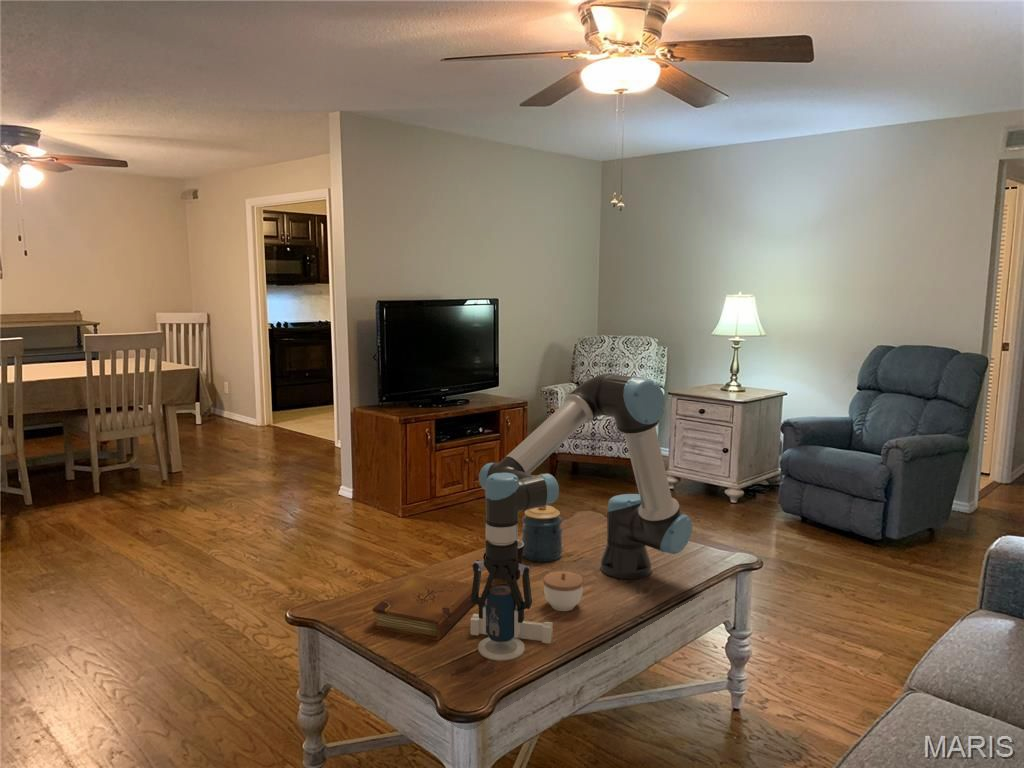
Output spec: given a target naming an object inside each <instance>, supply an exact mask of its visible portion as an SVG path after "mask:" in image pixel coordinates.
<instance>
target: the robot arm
mask: <svg viewBox="0 0 1024 768" xmlns="http://www.w3.org/2000/svg"><path fill="white" fill-rule="evenodd" d="M665 405H666V401H665V394H664V392H663V390H662V388H661V387H660V386H659V384H658V383H657V382H656V381H653V380H652V379H648V378H645V377H642V376H631V375H630V376H628V375H623V374H617V373H601V374H599V375H596V376H594V377H591V378H590V379H587V380H586V381H584V382H583V383H582V384H581V383H580V385H578V386H576V388H574V389H573V390H572V391H571V392H570V393H569V394H567V396H566V397H565V399H564V403H563V404H562V405H560V407H559V408H558V409H556V411H554V412H553V413H552V414H551V415H550V416H549V417H548V418H546V419H545V420H544V421H543V422H542V423H541V424H540V425H539V426H538V427H536V428H535V430H533V431H532V432H531V433H530V434H529V435H528V436H526V438H525V439H524V440H522V441H521V442H520V443H519V444H518V445H517V446H516V447H515V448H514V449H513V450H512V451H510V452H509V453H508V454H507V455H506V456H505V457H503V459H501V461H499V462H498V463H497V462H488V463H486V464H485V465H483V466H482V467H481V469H480V471H479V474H478V482H479V485H480V487H481V489H483V490H484V491H485V492H484V497H485V539H486V541H485V552H486V556H485V560H484V559H483V560H479V559H476V560H475V561H474V562H473V564H472V570H473V578H472V579H473V580H472V584H473V587H472V595H471V602H472V603H475V605H478V615H479V618H480V619H483V634H482V635H485V634H486V633H487V595H488V592H489V589H490V588H491V586H493V584H494V580H502V579H503V580H502V581H506V580H507V581H506V582H507V585H509V586H510V589H511V592H512V595H513V597H514V600H515V603H516V609H515V611H514V637H518V635H519V633H520V623H522V622H523V621H524V619H525V610H529V609H531V606H532V603H533V597H532V588H531V580H530V572H531V567H532V566H531V565H530V564H526V565H525V564H520V562H519V560H518V541H517V540H518V538H519V513H521V512H525V511H526V510H529V509H533V508H538V507H544V506H546V505H548V506H549V505H551V504H554V503H555V502H556V501H557V500H558V499H559V494H560V491H559V490H560V488H559V483H558V481H557V480H556V478H555V476H553V475H552V474H551V473H538V474H537V475H536V474H535V475H534V474H531V473H533V472H534V471H535V470H536V469H537V468H538V467H539V466H540V465H541V464H542V463H543V462H544V461H546V459H547V458H549V456H551V455H552V454H553V453H554V452H555V451H556V450H558V448H559V447H560V446H561V445H562V444H563V443H565V442H566V441H567V440H568V439H569V438H570V437H571V436H572V435H574V433H575V432H576V431H577V430H578V429H579V428H580V427H581V426H582V425H583V424H590V423H591V422H592V421H593V420H594V419H595V418H597V417H601V416H602V417H603V416H607V417H611V418H613V419H614V421H615V426H616V429H617V431H618V432H619V433H620V434H622V435H624V438H625V442H626V445H627V446H626V447H627V451H628V454H629V458H630V462H631V467H632V471H633V474H634V478H635V479H634V480H635V483H636V487H637V490H638V493H626V494H625V493H624V494H619V495H618V494H617V495H614V496H612V497H611V498H609V500H608V503H607V511H606V512H607V521H606V523H607V529H606V530H607V531H606V534H607V535H606V537H607V538H606V546H605V549H604V551H603V554H602V557H601V560H600V570H601V571H602V573H603V574H605V575H606V576H607V575H608V576H609V577H613V578H616V579H621V580H638V579H643V578H646V577H648V576H649V575H650V574H651V571H652V562H651V560H650V557H649V553H648V550H647V547H649V548H652V549H655V550H658V551H660V552H662V553H667V554H670V555H675V554H678V553H680V552H681V551H683V550H684V549H685V548H686V546H687V545H688V543H689V542H690V539H691V536H692V533H693V522H692V519H691V517H689V516H688V515H687V514H683V513H682V512H681V508H680V504H679V501H678V500H677V499H675V498H674V497H672V493H671V488H670V485H669V480H668V476H667V472H666V467H665V462H664V459H663V454H662V449H661V445H660V440H659V437H658V432H657V426H658V425H659V423H660V419H661V418H662V416H663V414H664V411H665V410H664V407H665ZM484 567H485V569H486V570H487V572H488V574H489V575H488V578H487V580H486V583H485V585H484V588H483V591H482V594H481V595H480V589H481V588H480V587H481V580H482V579H481V578H482V571H483V570H484ZM517 569H519V570H520V576H521V577H522V578H521V580H522V582H521V583H522V589H523V596H522V593H521V590H520V588H519V585H518V582H517V580H516V576H515V574H514V573H515V572H516V571H517ZM479 595H480V596H479Z"/></svg>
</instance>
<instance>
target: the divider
mask: <svg viewBox="0 0 1024 768" xmlns="http://www.w3.org/2000/svg"><path fill="white" fill-rule="evenodd" d="M553 624H554V623H553V622H551V621H543V622H535V621H527V620H525V621H524V620H523V622H522V623H520V633H519V635H518V637H515V638H518V639H520V640H521V639H522V640H523V639H524V640H531V641H540V642H542V643H543V644H548V645H549V644H551V643H552V640H553ZM479 635H484V636H485V635H486V636H488V634H487V633H486V634H483V619H480V618H479V613H477V614H476V613H473V615H472V616H471V618H470V636H479Z"/></svg>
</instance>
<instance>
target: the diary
mask: <svg viewBox="0 0 1024 768" xmlns="http://www.w3.org/2000/svg"><path fill="white" fill-rule="evenodd" d="M472 587H473V583H470V582H463V581H457V580H453V579H452V580H451V579H445V578H440V577H435V576H428V575H421V574H415V575H414V576H413V577H411V578H410V579H408V580H407V581H406V582H405V583H403V584H402V585H401V586H400V587H398V588H397V589H396V590H395V591H393V592H392V593H391V594H389V595H388V596H387V597H386V598H384V599H382V600H381V601H380V602H379V603H378V604H377V605H375V606H374V607H372V613H375V614H376V617H375V618H376V623H375V624H374V625H373V626H372V628H373V627H375V628H374V629H377V628H378V629H379V630H382V629H384V630H383V631H387V630H388V631H387V632H392V631H393V632H392V633H397V632H398V633H397V634H402V633H403V635H407V634H408V635H407V636H412V635H414V636H413V637H417V636H418V638H422V637H423V638H422V639H426V640H427V639H428V640H433V641H437V640H438V642H439V641H440V640H441V639H442V637H443V636H444V635H446V633H448V632H449V631H450V629H452V627H453V626H455V624H456V623H457V622H458V621H459V620H460V619H461V618H462V617H463V616H465V614H466V613H467V612H468V611H469V610H470V609H471V608H472V607H473V606H474V605H476V603H472V602H471V595H472ZM378 629H377V630H378Z"/></svg>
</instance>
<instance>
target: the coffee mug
mask: <svg viewBox="0 0 1024 768" xmlns="http://www.w3.org/2000/svg"><path fill="white" fill-rule="evenodd" d="M517 541H518V560H519V562H520V564H522V562H523V548H524V543H523V542H522V540H519V539H517ZM482 558H483V561H484V560H485V558H486V551H485V552H484V554H483V557H482ZM522 565H523V564H522ZM514 574H515V576H516V581H517V580H518V579H519V578H520V577H521V573H520V570H519V569H517V571H516V572H515V573H514ZM501 581H504V580H503V579H501ZM505 581H506V582H507V580H505Z"/></svg>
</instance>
